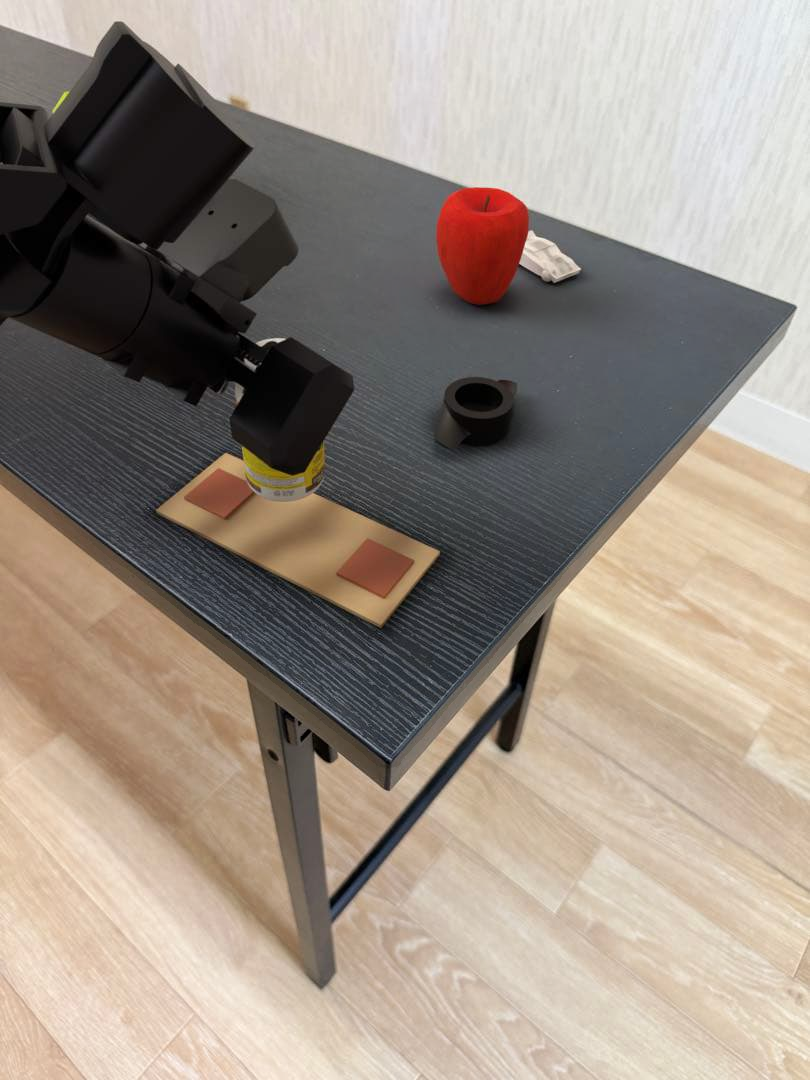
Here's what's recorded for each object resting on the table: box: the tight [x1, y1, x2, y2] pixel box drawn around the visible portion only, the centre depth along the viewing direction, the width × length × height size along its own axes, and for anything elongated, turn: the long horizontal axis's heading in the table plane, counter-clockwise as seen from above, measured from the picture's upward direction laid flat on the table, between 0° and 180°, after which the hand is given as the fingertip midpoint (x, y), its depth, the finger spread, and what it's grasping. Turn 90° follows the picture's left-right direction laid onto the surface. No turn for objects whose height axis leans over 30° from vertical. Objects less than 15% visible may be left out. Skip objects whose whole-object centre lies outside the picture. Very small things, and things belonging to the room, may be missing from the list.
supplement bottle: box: [234, 337, 326, 502], centre depth 53 cm, size 6×6×10 cm
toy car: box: [519, 229, 582, 284], centre depth 88 cm, size 5×8×2 cm, turn 38°
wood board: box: [155, 452, 441, 629], centre depth 59 cm, size 20×8×1 cm, turn 59°
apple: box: [435, 186, 530, 306], centre depth 80 cm, size 9×9×11 cm
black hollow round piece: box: [433, 376, 518, 452], centre depth 68 cm, size 8×10×3 cm
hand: (296, 394), depth 53 cm, fingers closed on supplement bottle, 5 cm apart
